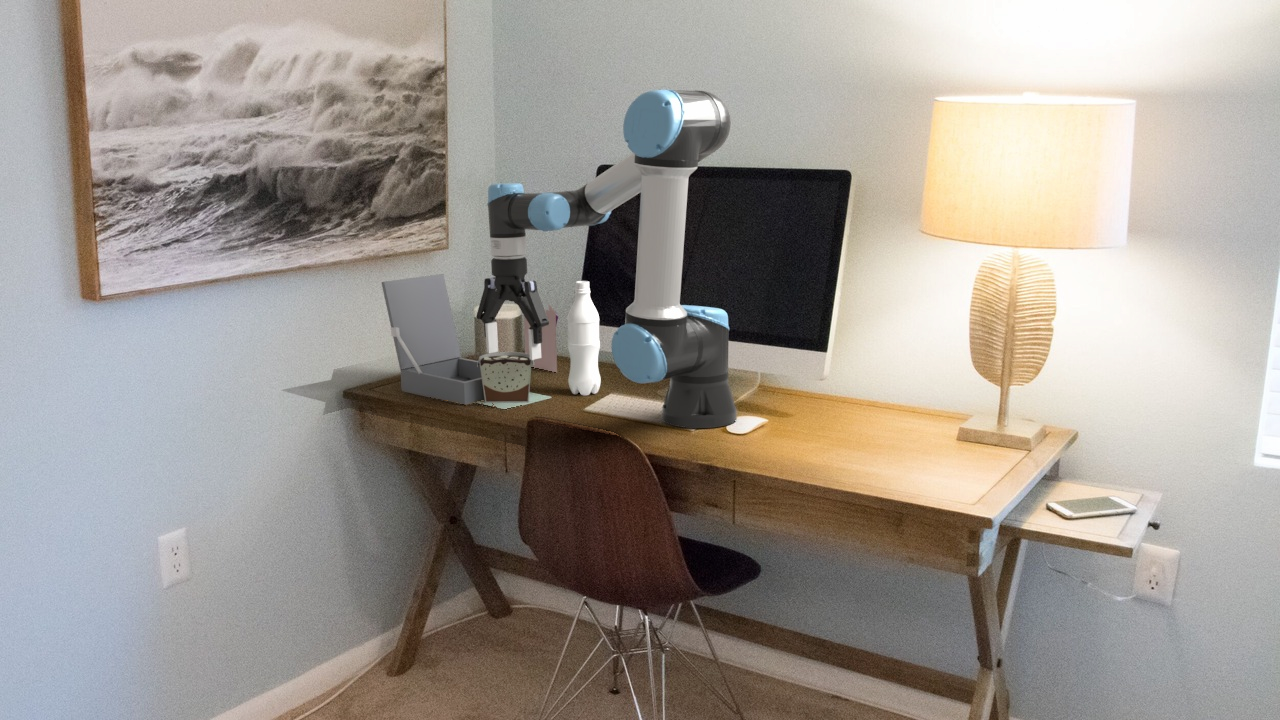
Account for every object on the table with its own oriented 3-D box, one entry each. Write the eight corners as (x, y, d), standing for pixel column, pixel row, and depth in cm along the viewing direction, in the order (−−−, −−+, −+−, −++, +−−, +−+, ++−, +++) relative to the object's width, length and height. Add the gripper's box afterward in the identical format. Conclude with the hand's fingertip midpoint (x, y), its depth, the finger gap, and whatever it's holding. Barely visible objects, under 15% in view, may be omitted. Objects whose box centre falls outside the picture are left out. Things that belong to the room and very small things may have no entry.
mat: (551, 398, 248) (551, 396, 248) (503, 410, 237) (503, 408, 237) (523, 392, 254) (523, 390, 254) (475, 403, 243) (475, 402, 243)
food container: (538, 395, 249) (537, 351, 247) (535, 402, 243) (534, 356, 241) (482, 396, 249) (480, 351, 247) (478, 402, 243) (476, 357, 241)
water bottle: (582, 398, 247) (579, 285, 242) (562, 392, 252) (559, 281, 247) (607, 393, 252) (605, 281, 247) (587, 387, 257) (585, 278, 252)
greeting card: (560, 372, 273) (559, 311, 270) (530, 374, 271) (528, 312, 268) (554, 363, 284) (552, 304, 281) (524, 364, 282) (522, 305, 279)
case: (523, 391, 254) (519, 282, 249) (464, 405, 242) (459, 291, 237) (445, 374, 272) (440, 273, 267) (386, 387, 259) (380, 281, 254)
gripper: (456, 256, 244) (462, 352, 248) (536, 261, 228) (541, 364, 232) (483, 252, 250) (488, 347, 254) (563, 257, 234) (567, 358, 238)
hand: (513, 355), depth 243 cm, fingers open, 13 cm apart
